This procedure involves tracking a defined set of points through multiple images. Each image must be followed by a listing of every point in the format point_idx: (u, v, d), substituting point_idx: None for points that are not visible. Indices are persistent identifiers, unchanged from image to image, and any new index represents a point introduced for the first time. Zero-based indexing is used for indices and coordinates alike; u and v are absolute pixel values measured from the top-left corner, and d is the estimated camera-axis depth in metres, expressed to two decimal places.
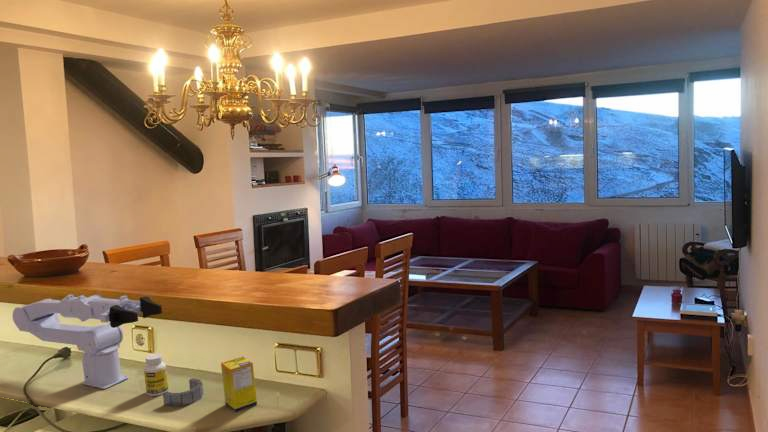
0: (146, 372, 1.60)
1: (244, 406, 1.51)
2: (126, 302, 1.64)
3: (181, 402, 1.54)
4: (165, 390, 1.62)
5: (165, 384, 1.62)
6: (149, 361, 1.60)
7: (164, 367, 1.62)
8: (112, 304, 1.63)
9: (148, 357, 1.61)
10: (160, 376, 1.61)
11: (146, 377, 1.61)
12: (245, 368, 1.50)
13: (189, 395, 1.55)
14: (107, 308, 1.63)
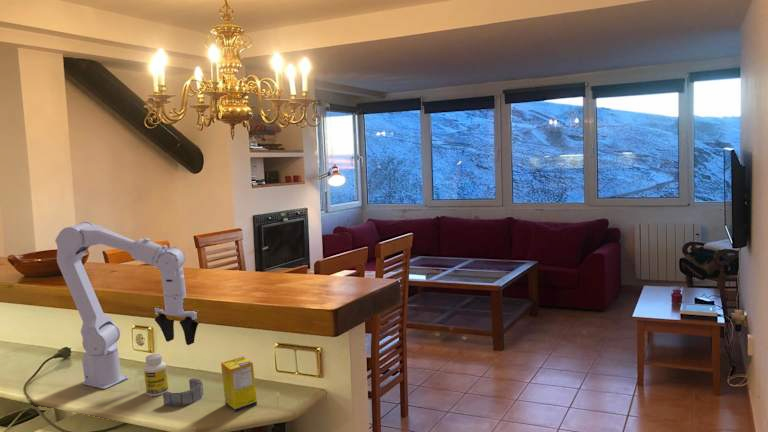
0: (146, 372, 1.60)
1: (244, 406, 1.51)
2: None
3: (181, 402, 1.54)
4: (165, 390, 1.62)
5: (165, 384, 1.62)
6: (149, 361, 1.60)
7: (164, 367, 1.62)
8: None
9: (148, 357, 1.61)
10: (160, 376, 1.61)
11: (146, 377, 1.61)
12: (245, 368, 1.50)
13: (189, 395, 1.55)
14: None
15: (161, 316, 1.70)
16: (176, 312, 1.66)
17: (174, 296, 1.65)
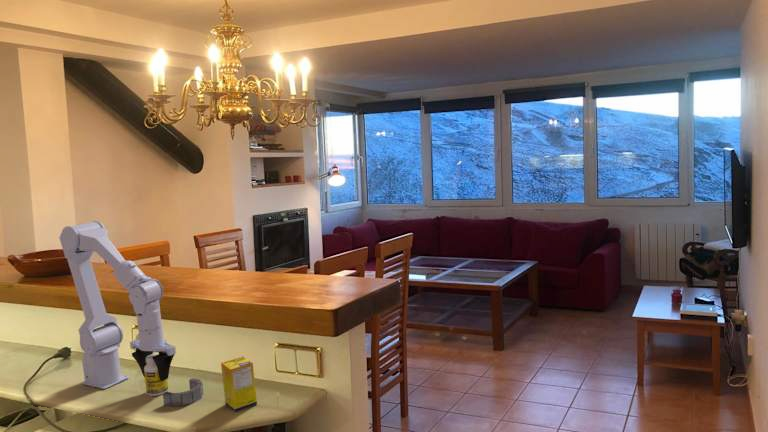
0: (146, 372, 1.60)
1: (244, 406, 1.51)
2: None
3: (181, 402, 1.54)
4: (165, 390, 1.62)
5: (165, 384, 1.62)
6: (149, 361, 1.60)
7: None
8: (162, 335, 1.62)
9: (148, 357, 1.61)
10: None
11: (146, 377, 1.61)
12: (245, 368, 1.50)
13: (189, 395, 1.55)
14: (161, 332, 1.61)
15: (138, 351, 1.63)
16: (151, 347, 1.59)
17: (149, 331, 1.58)
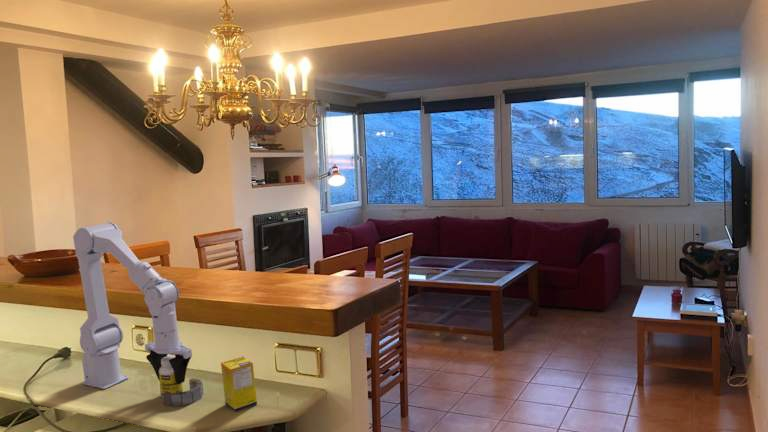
0: (161, 375, 1.58)
1: (244, 406, 1.51)
2: None
3: (181, 402, 1.54)
4: None
5: (180, 387, 1.60)
6: (165, 364, 1.58)
7: None
8: (178, 338, 1.60)
9: (163, 359, 1.59)
10: None
11: (161, 379, 1.58)
12: (245, 368, 1.50)
13: (189, 395, 1.55)
14: (177, 335, 1.58)
15: (153, 354, 1.60)
16: (167, 350, 1.56)
17: (165, 333, 1.56)
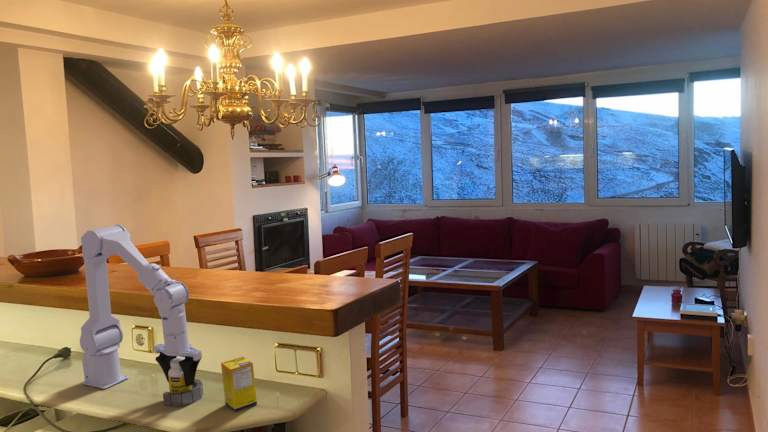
0: (170, 377, 1.56)
1: (244, 406, 1.51)
2: None
3: (181, 402, 1.54)
4: None
5: (189, 389, 1.58)
6: (174, 366, 1.56)
7: None
8: None
9: (173, 361, 1.57)
10: (184, 382, 1.57)
11: (170, 382, 1.57)
12: (245, 368, 1.50)
13: (189, 395, 1.55)
14: (186, 336, 1.57)
15: (162, 355, 1.59)
16: (177, 352, 1.54)
17: (175, 335, 1.54)
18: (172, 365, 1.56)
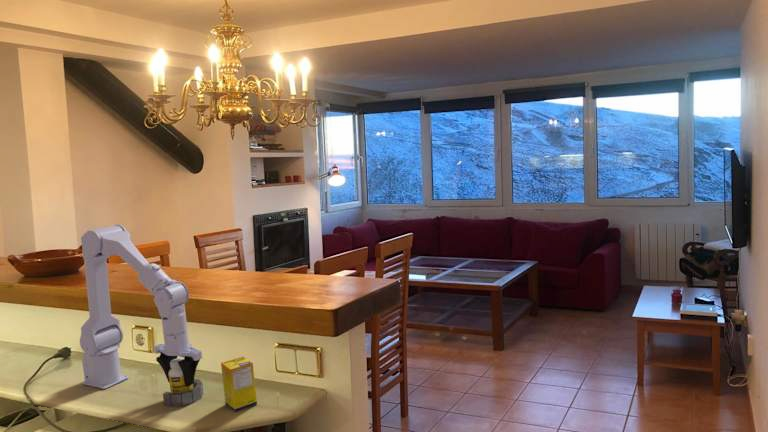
0: (171, 377, 1.56)
1: (244, 406, 1.51)
2: None
3: (181, 402, 1.54)
4: None
5: (190, 389, 1.58)
6: (174, 366, 1.56)
7: None
8: None
9: (172, 361, 1.57)
10: None
11: (171, 382, 1.56)
12: (245, 368, 1.50)
13: (189, 395, 1.55)
14: (187, 336, 1.57)
15: (163, 356, 1.59)
16: (177, 352, 1.54)
17: (175, 335, 1.54)
18: (172, 365, 1.56)
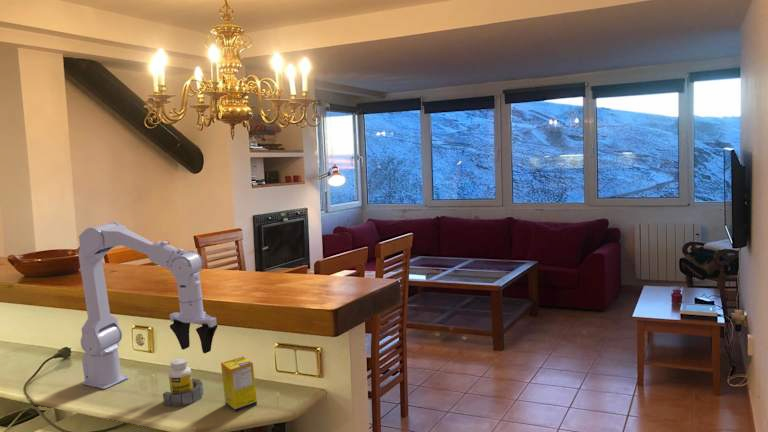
0: (171, 378, 1.56)
1: (244, 406, 1.51)
2: None
3: (181, 402, 1.54)
4: None
5: (190, 389, 1.58)
6: (174, 366, 1.56)
7: (189, 372, 1.58)
8: None
9: (173, 362, 1.57)
10: (185, 382, 1.57)
11: (171, 382, 1.56)
12: (245, 368, 1.50)
13: (189, 395, 1.55)
14: (201, 304, 1.61)
15: (176, 323, 1.63)
16: (192, 319, 1.59)
17: (190, 302, 1.58)
18: (172, 366, 1.56)
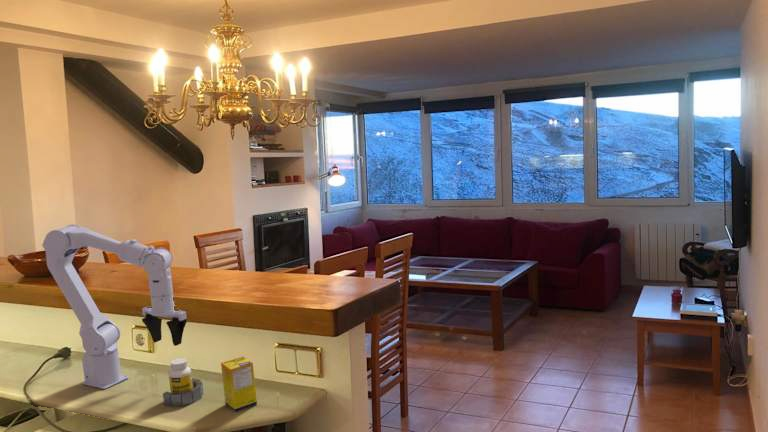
0: (171, 378, 1.56)
1: (244, 406, 1.51)
2: None
3: (181, 402, 1.54)
4: None
5: (190, 389, 1.58)
6: (174, 366, 1.56)
7: (189, 372, 1.58)
8: None
9: (173, 362, 1.57)
10: (185, 382, 1.57)
11: (171, 382, 1.56)
12: (245, 368, 1.50)
13: (189, 395, 1.55)
14: (172, 299, 1.68)
15: (148, 317, 1.70)
16: (163, 313, 1.66)
17: (161, 297, 1.65)
18: (172, 366, 1.56)
